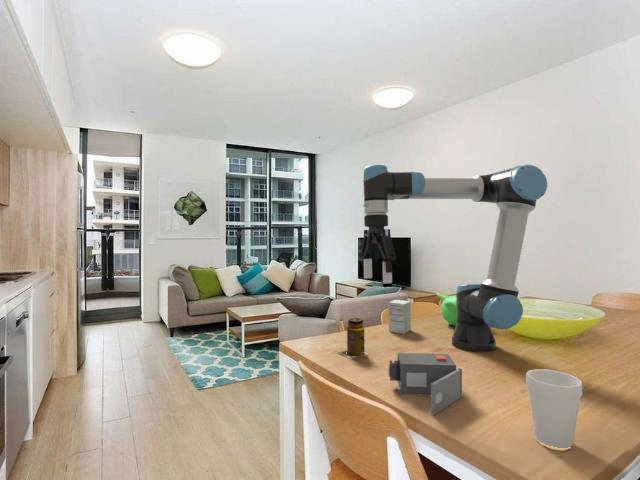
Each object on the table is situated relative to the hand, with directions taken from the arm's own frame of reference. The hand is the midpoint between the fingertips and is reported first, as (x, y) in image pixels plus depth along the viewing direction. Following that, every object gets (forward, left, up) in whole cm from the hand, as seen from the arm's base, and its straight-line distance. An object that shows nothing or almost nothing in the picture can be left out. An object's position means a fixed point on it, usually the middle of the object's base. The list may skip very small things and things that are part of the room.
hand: (377, 280), depth 119 cm
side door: (-16, +28, -27) cm, 42 cm away
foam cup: (-33, +42, -27) cm, 60 cm away
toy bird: (-38, -52, -27) cm, 70 cm away
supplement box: (-11, -41, -27) cm, 51 cm away
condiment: (+8, -9, -27) cm, 30 cm away
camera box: (-11, +18, -27) cm, 34 cm away
